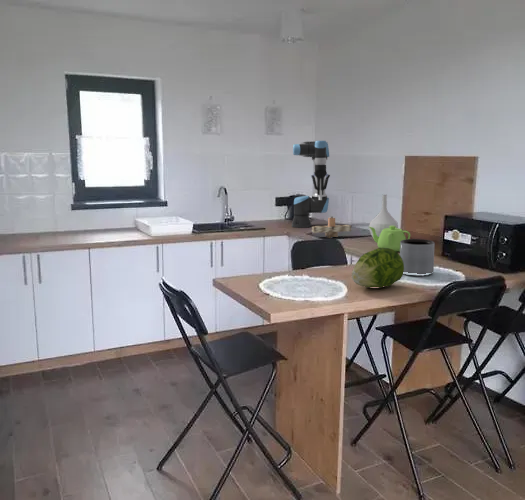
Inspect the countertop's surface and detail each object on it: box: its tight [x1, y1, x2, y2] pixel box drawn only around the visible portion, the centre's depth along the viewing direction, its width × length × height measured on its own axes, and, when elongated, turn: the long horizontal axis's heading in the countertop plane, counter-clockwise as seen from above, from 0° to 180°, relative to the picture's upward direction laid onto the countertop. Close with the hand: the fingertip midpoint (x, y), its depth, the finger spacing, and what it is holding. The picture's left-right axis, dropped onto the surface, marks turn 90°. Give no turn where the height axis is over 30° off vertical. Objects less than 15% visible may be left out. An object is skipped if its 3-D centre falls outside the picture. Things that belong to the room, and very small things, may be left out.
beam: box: [311, 224, 352, 239], centre depth 354 cm, size 26×8×8 cm, turn 101°
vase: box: [368, 194, 399, 238], centre depth 336 cm, size 18×18×30 cm
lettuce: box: [351, 247, 404, 288], centre depth 225 cm, size 17×23×17 cm
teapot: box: [368, 226, 411, 253], centre depth 307 cm, size 19×20×14 cm
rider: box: [327, 216, 336, 227], centre depth 353 cm, size 4×3×8 cm
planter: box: [399, 238, 436, 274], centre depth 249 cm, size 16×16×16 cm
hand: (320, 199), depth 349 cm, fingers closed
